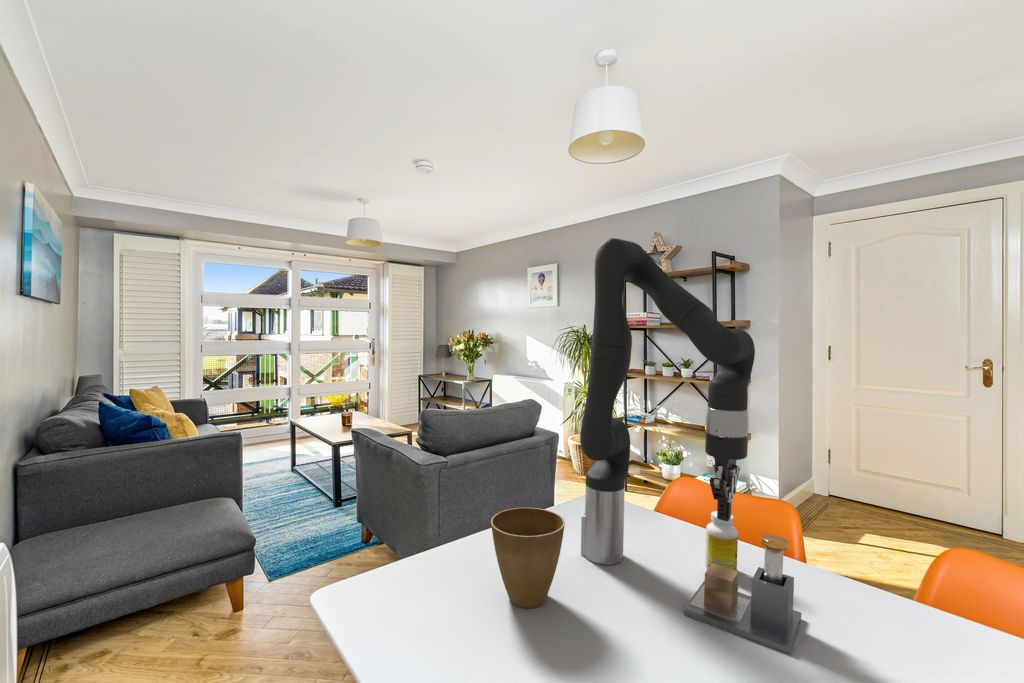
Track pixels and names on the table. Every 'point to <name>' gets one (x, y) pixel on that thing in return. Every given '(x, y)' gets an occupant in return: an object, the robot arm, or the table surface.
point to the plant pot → (527, 552)
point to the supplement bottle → (721, 543)
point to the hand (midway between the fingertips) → (723, 519)
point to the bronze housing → (721, 587)
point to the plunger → (773, 558)
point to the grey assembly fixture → (755, 613)
